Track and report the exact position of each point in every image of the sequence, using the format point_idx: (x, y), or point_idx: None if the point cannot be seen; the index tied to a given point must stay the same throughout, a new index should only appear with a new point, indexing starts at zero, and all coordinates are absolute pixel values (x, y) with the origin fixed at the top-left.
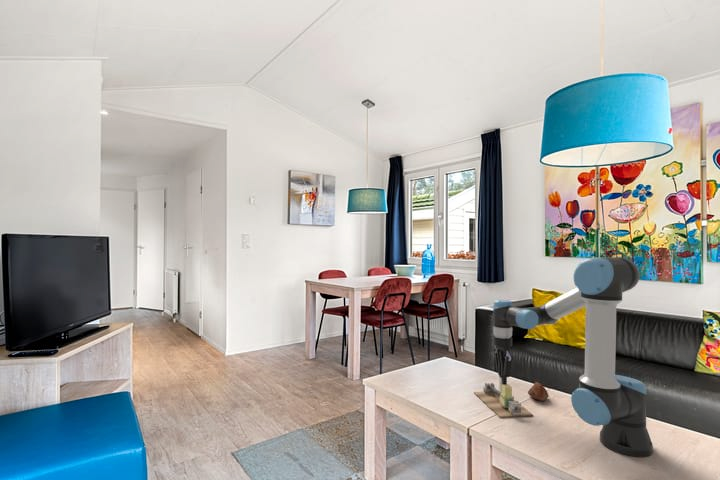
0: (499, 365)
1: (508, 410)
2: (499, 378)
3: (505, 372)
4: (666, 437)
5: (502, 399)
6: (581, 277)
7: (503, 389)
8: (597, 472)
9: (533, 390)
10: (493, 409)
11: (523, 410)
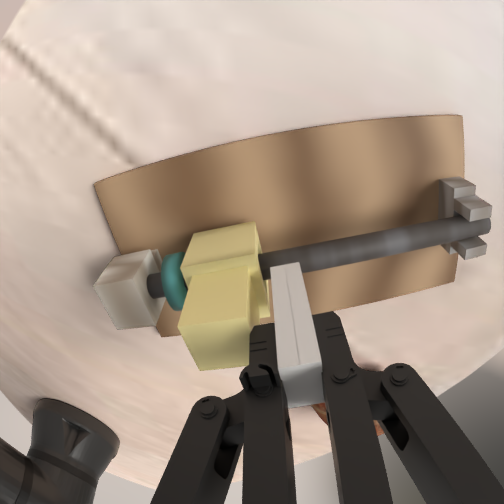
0: (343, 486)
1: (186, 247)
2: (307, 342)
3: (174, 457)
4: (147, 472)
5: (211, 248)
6: None
7: (210, 301)
8: None
9: (325, 412)
10: (183, 162)
11: None
